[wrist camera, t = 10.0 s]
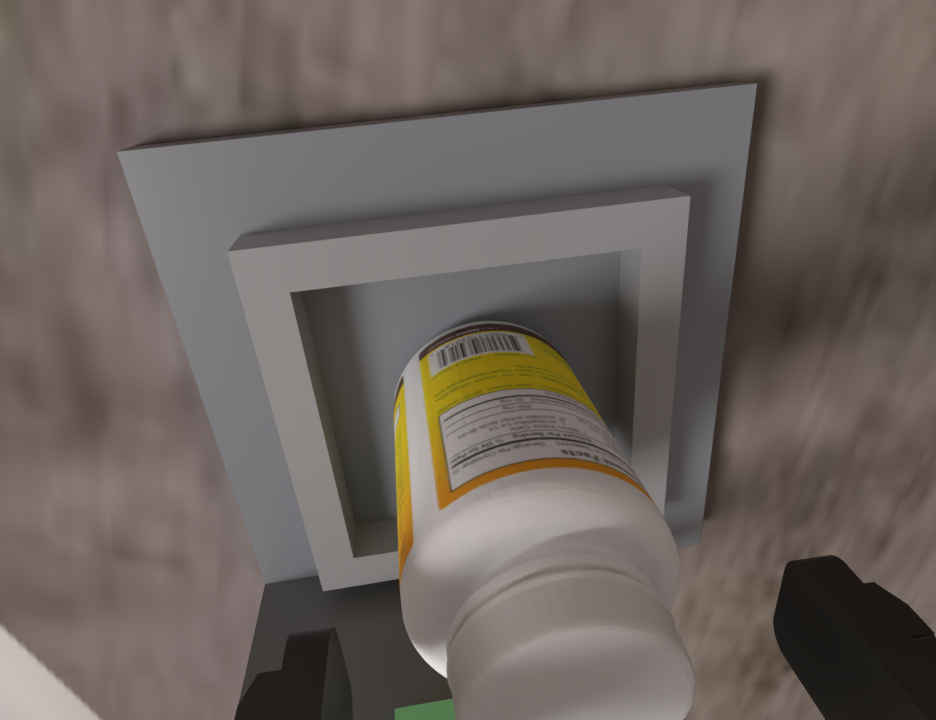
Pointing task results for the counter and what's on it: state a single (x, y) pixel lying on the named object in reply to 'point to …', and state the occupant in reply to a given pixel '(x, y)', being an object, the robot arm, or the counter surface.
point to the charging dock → (438, 318)
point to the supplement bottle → (530, 539)
